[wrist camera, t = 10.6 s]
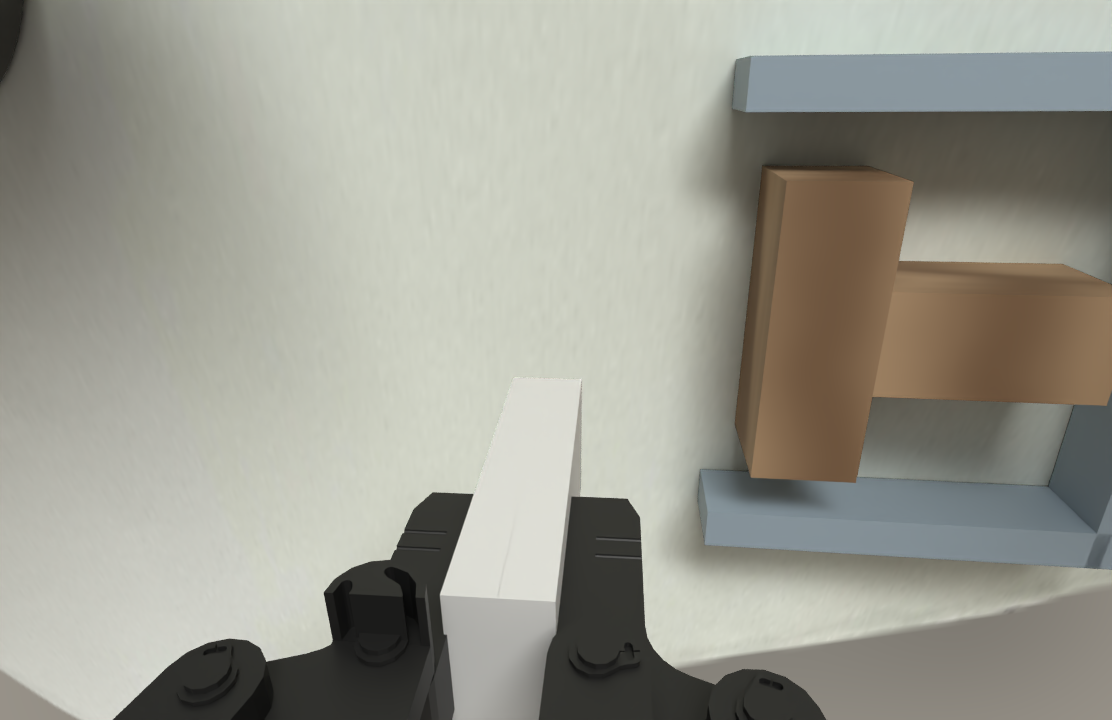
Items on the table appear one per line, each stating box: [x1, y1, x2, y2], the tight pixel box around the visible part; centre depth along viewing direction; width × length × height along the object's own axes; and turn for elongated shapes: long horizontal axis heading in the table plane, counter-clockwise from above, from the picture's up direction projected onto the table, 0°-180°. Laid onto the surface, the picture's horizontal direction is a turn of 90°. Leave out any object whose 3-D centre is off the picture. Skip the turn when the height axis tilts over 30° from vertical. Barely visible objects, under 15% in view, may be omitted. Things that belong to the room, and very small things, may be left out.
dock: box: [698, 52, 1112, 570], centre depth 23 cm, size 15×17×3 cm
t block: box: [735, 166, 1112, 483], centre depth 22 cm, size 10×10×4 cm
